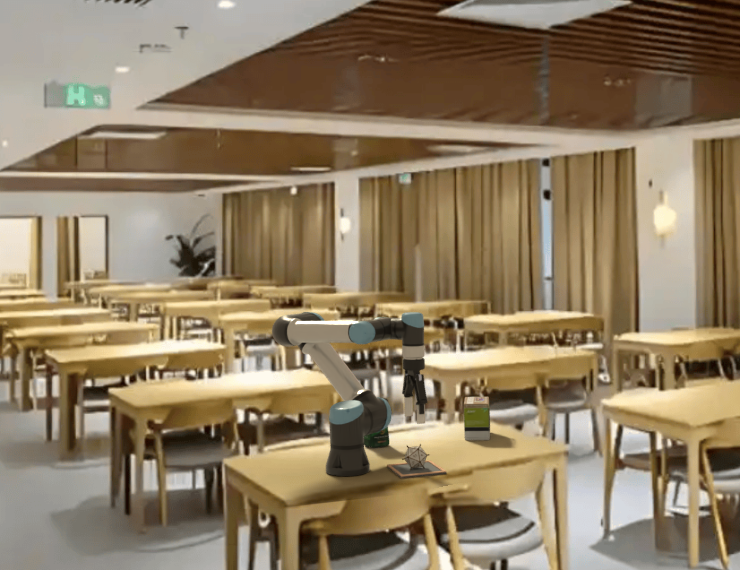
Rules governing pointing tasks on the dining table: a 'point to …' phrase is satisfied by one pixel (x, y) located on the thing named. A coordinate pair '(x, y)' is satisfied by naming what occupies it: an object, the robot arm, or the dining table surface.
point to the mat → (416, 470)
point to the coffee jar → (377, 438)
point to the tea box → (477, 418)
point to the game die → (415, 457)
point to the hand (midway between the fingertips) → (414, 419)
